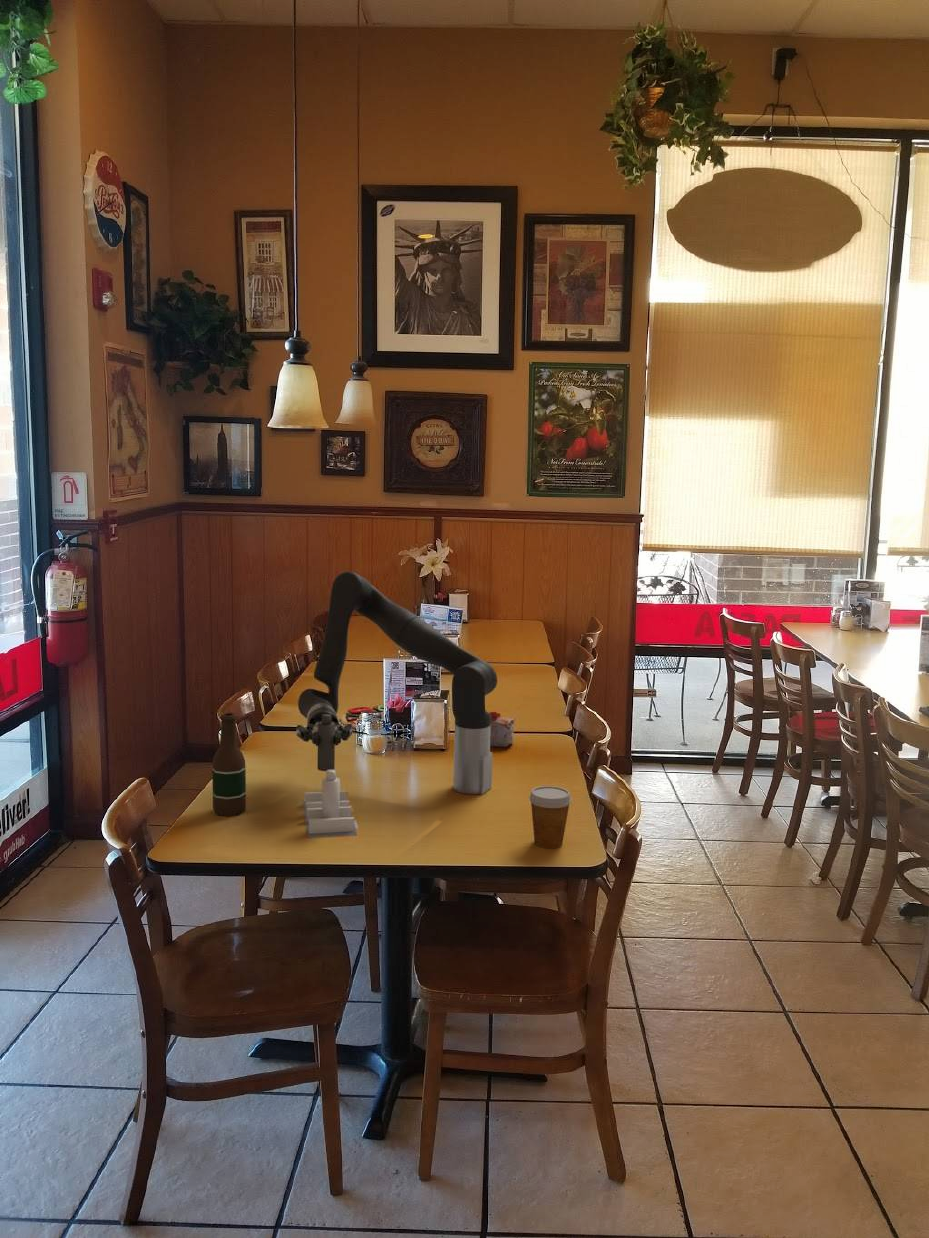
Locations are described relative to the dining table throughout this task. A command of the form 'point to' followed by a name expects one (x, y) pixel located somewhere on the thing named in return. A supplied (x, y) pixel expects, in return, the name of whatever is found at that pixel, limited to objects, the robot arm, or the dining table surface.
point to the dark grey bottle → (326, 744)
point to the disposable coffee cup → (549, 815)
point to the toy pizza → (356, 715)
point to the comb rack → (328, 825)
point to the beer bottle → (228, 772)
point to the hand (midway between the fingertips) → (327, 741)
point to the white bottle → (330, 795)
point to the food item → (501, 730)
